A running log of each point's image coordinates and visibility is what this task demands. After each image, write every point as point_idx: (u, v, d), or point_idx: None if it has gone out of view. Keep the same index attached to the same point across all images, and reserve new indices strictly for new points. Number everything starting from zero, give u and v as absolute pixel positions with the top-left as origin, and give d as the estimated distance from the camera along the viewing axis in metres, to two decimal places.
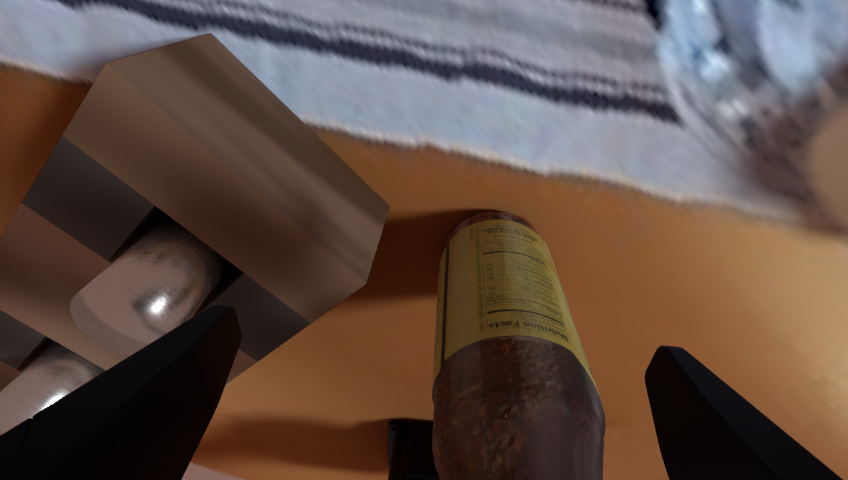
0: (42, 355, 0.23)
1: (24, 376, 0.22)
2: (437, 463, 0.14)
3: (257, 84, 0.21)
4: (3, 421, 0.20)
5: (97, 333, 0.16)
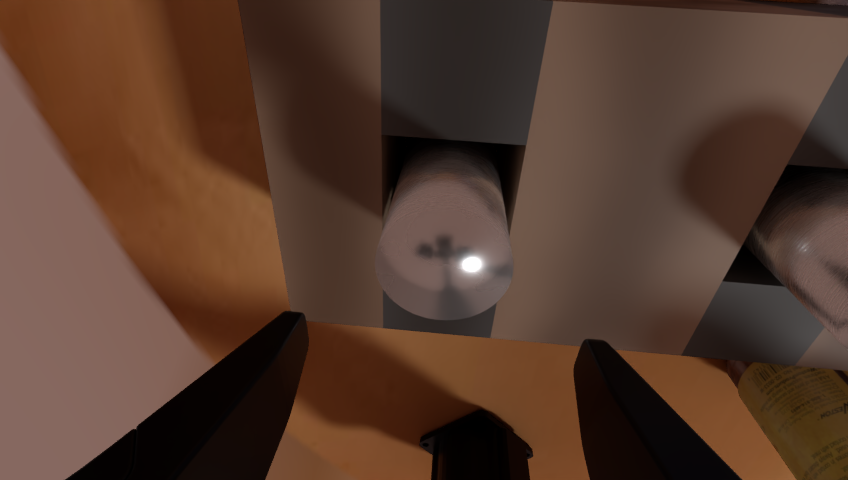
0: (472, 159, 0.13)
1: (484, 186, 0.12)
2: None
3: None
4: (477, 250, 0.11)
5: None
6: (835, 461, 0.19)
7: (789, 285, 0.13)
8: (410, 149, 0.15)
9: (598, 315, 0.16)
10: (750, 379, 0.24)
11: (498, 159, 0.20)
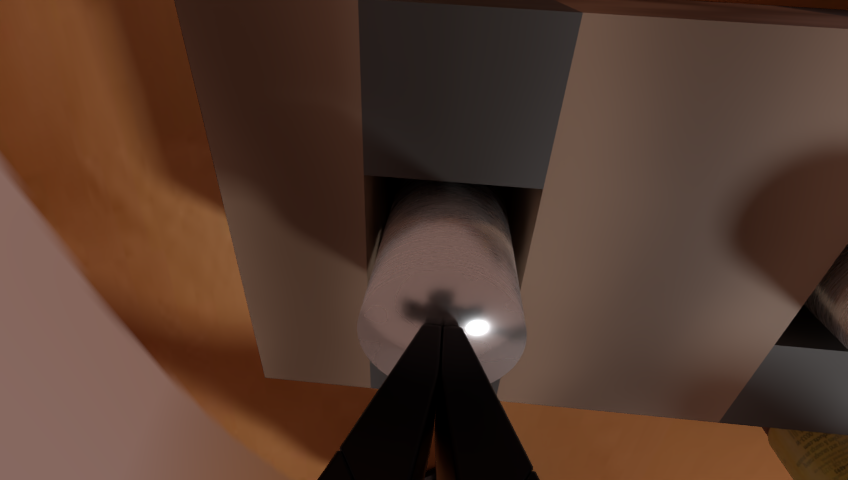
0: (476, 195, 0.11)
1: (490, 231, 0.10)
2: None
3: None
4: (483, 318, 0.09)
5: None
6: None
7: None
8: None
9: (624, 379, 0.14)
10: None
11: (504, 187, 0.17)
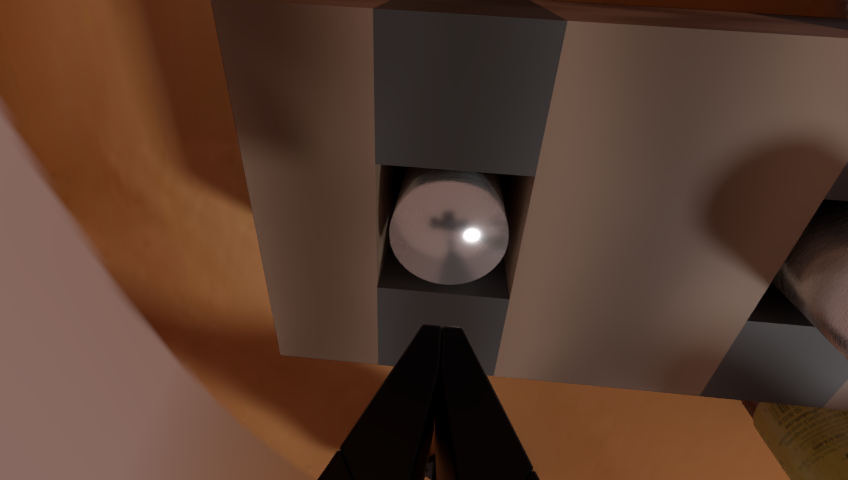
0: None
1: None
2: None
3: None
4: (477, 220, 0.12)
5: None
6: None
7: (825, 331, 0.12)
8: None
9: (611, 354, 0.15)
10: (767, 410, 0.22)
11: (502, 181, 0.18)
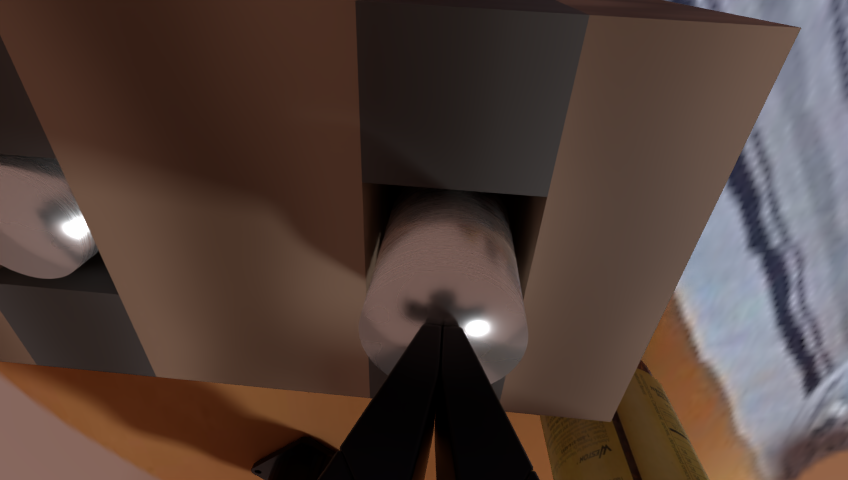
0: None
1: None
2: None
3: None
4: (30, 208, 0.11)
5: (386, 320, 0.09)
6: None
7: None
8: None
9: (256, 353, 0.14)
10: None
11: None
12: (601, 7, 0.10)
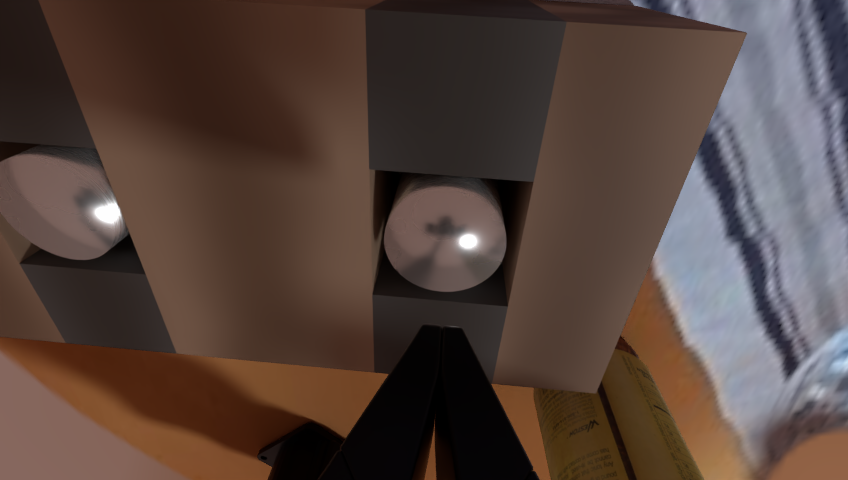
0: None
1: None
2: None
3: None
4: (70, 194, 0.13)
5: (404, 230, 0.12)
6: None
7: None
8: None
9: (270, 330, 0.15)
10: (537, 393, 0.23)
11: None
12: (580, 14, 0.11)
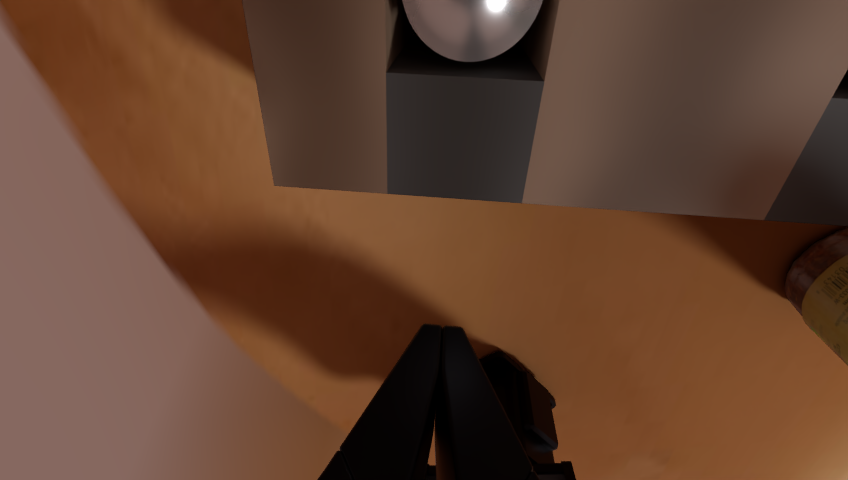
0: None
1: None
2: None
3: None
4: None
5: None
6: None
7: None
8: None
9: (662, 161, 0.13)
10: (820, 291, 0.20)
11: None
12: None
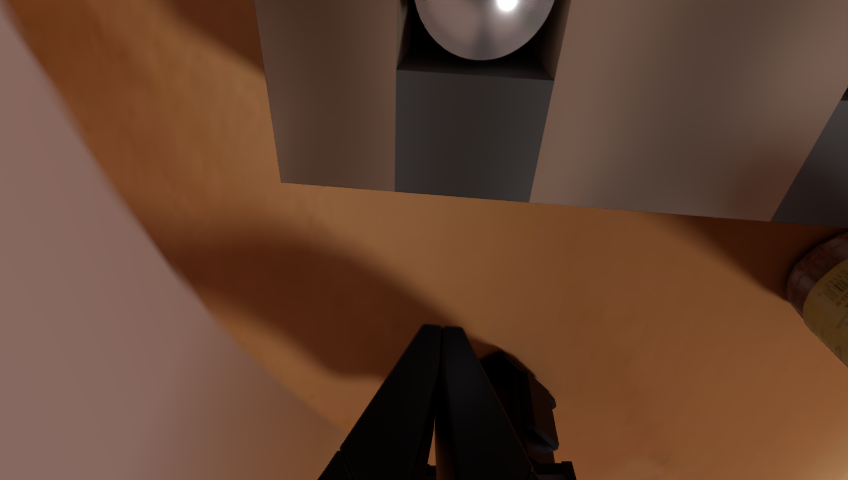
0: None
1: None
2: None
3: None
4: None
5: None
6: None
7: None
8: None
9: (671, 162, 0.13)
10: (821, 294, 0.20)
11: None
12: None
